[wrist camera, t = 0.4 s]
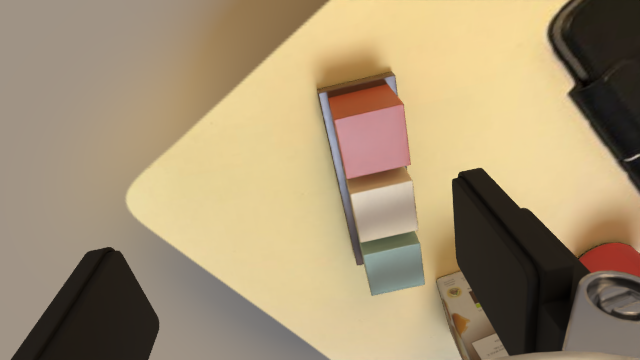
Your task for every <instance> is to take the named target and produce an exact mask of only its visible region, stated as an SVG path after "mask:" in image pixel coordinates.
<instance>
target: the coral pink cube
mask: <svg viewBox="0 0 640 360" xmlns="http://www.w3.org/2000/svg"><path fill="white" fill-rule="evenodd" d="M328 102H329V107H330V111H331V116H332V121H333V125H334V130H335V135H336V139H337V144H338V148H339V153H340V156H341V160H342V164H343V167H344V171H345V175H346V178H347V179H351V178H355V177H360V176H364V175H368V174H373V173H377V172H381V171H386V170H390V169H395V168H399V167H403V166H408V165H411V163H410V154H409V146H408V137H407V129H406V121H405V112H404V104H403V103H402V101H401V100H400V99H399V98H398V96H397V95H396V94H395V93H394V91H393V90H392V89H391V88H390V86H389V85H388V84H385V85H381V86H377V87H373V88H369V89H364V90H360V91H356V92H352V93H347V94H343V95H339V96H335V97H331V98H328Z"/></svg>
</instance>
